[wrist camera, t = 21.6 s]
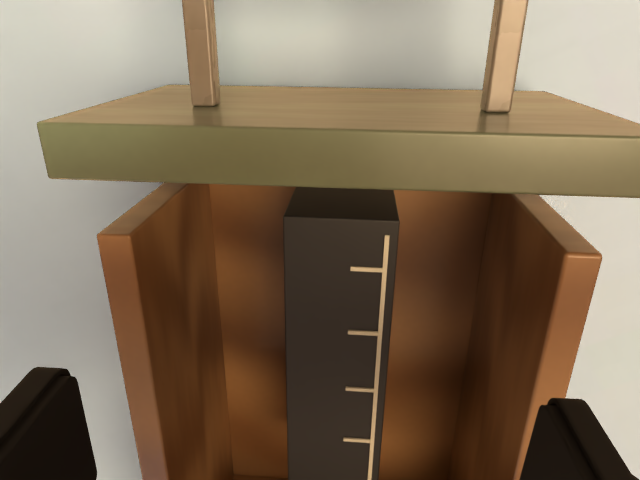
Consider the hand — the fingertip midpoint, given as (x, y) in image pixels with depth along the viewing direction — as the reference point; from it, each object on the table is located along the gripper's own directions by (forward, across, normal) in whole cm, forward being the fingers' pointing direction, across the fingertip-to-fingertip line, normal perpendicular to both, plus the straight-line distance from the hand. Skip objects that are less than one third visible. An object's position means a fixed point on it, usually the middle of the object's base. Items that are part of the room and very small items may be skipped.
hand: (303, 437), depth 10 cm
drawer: (+9, -1, 0) cm, 9 cm away
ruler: (+8, -1, +2) cm, 8 cm away
